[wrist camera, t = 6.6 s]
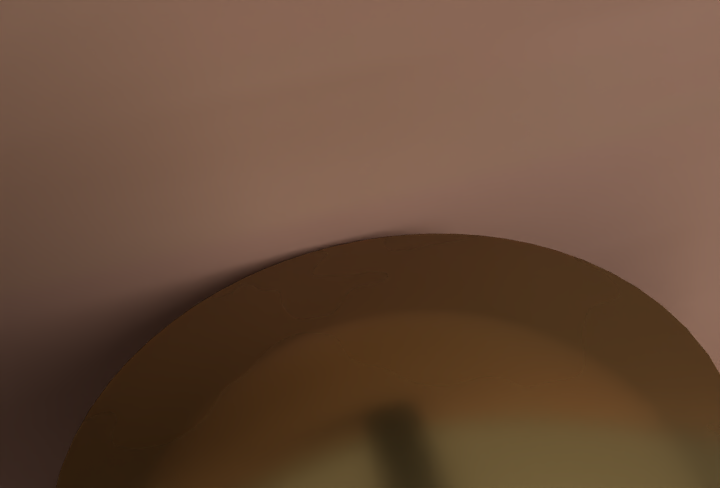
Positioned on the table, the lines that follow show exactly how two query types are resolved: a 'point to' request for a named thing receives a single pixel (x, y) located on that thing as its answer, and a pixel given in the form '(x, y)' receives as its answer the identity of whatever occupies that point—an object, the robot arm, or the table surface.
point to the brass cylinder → (412, 379)
